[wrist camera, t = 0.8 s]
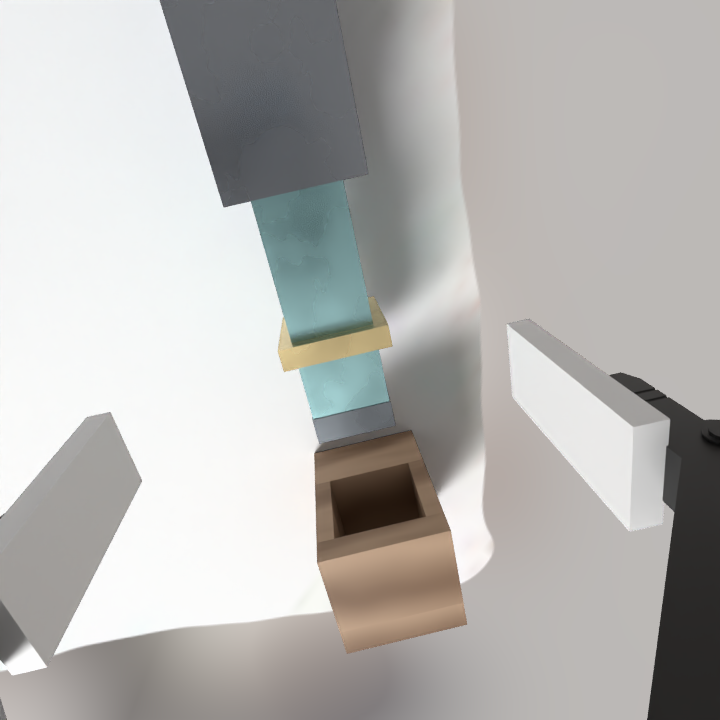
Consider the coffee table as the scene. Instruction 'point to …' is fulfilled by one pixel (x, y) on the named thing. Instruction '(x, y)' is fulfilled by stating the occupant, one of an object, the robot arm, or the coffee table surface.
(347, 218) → the teal square bar
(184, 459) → the coffee table surface
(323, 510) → the socket
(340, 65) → the sleeve
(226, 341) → the coffee table surface
